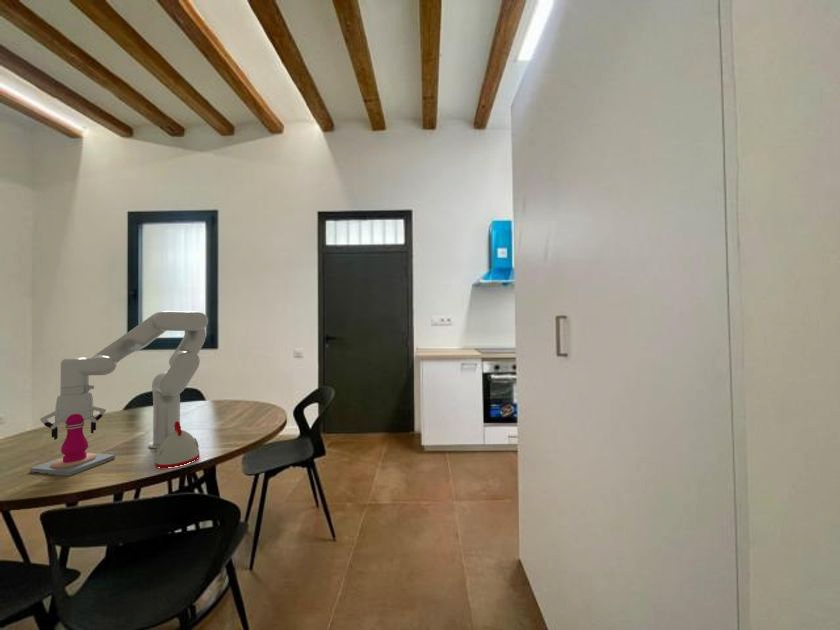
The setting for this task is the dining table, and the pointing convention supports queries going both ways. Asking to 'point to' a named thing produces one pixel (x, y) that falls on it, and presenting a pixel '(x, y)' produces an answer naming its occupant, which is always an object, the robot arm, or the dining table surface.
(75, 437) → the pepper mill
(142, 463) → the dining table surface
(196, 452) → the kitchen timer
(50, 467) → the slate board
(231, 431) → the dining table surface
